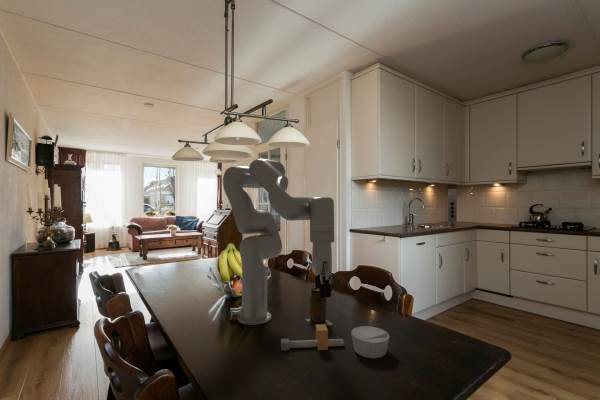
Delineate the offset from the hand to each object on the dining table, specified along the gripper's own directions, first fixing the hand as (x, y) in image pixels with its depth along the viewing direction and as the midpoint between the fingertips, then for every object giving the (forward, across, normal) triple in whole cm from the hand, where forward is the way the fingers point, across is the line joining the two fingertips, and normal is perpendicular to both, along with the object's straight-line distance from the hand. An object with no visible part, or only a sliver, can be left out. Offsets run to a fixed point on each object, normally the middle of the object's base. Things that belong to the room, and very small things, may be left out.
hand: (322, 292), depth 93 cm
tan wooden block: (+17, 0, 0) cm, 17 cm away
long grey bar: (+17, 0, -2) cm, 17 cm away
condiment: (+17, -20, +2) cm, 26 cm away
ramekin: (+17, +4, +14) cm, 22 cm away
